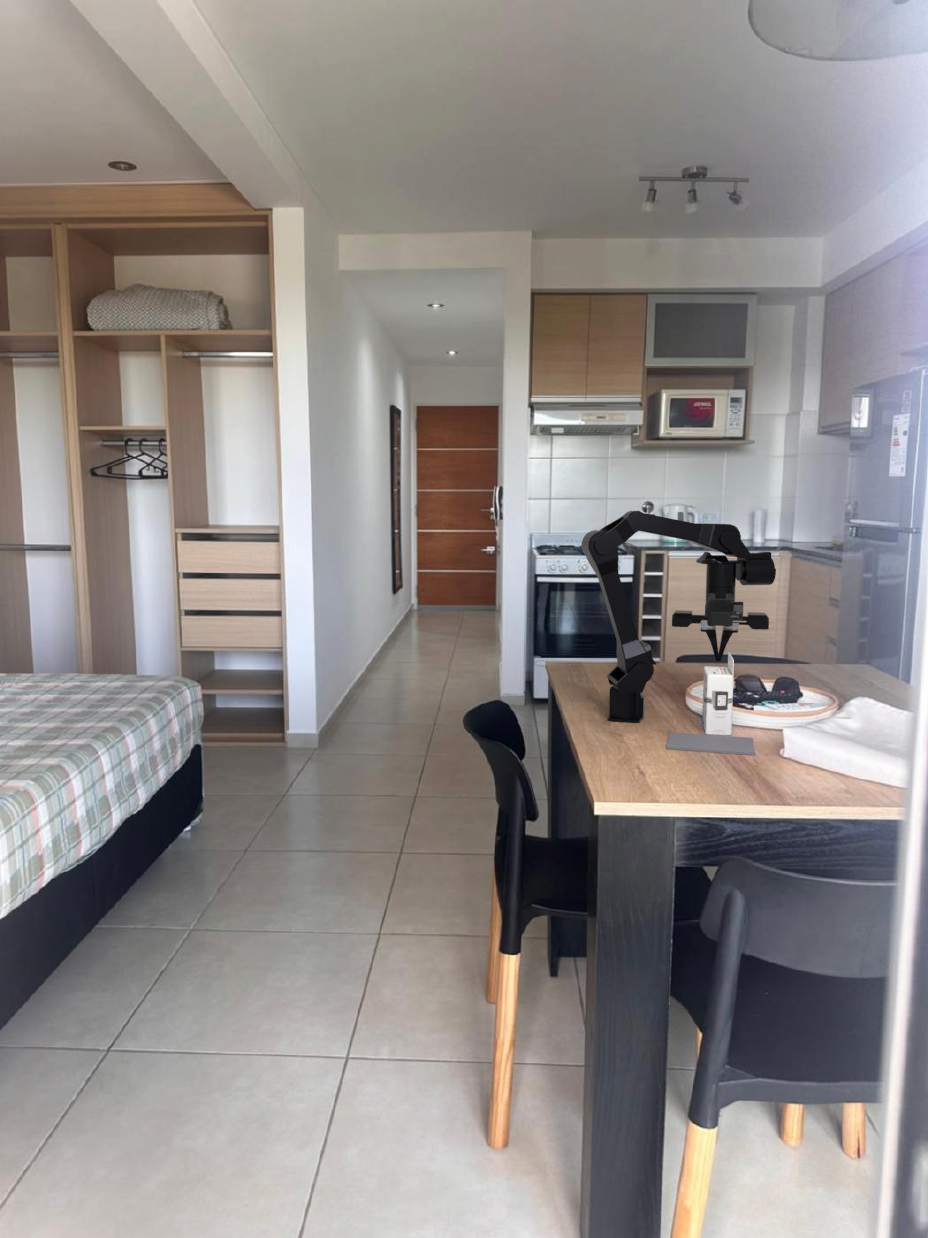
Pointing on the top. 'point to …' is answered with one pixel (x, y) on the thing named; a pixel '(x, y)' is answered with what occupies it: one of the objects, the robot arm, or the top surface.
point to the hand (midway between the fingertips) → (718, 661)
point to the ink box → (718, 699)
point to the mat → (711, 743)
